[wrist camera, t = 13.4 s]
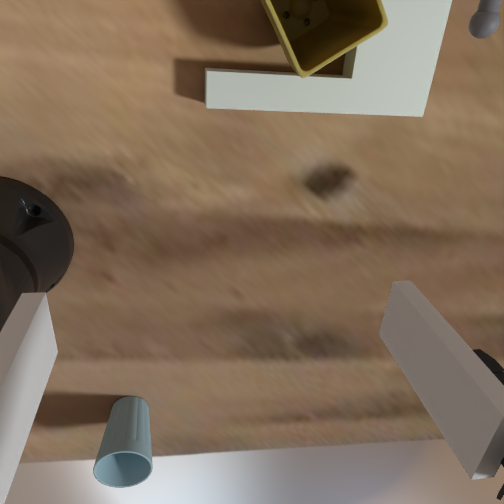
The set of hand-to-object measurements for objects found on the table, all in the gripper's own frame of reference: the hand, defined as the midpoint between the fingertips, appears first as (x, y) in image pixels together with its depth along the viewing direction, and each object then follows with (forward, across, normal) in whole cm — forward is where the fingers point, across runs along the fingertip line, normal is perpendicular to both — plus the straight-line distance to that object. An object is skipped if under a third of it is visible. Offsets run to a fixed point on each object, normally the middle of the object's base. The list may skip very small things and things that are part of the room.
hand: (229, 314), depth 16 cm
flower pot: (+35, +10, +12) cm, 38 cm away
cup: (+35, -10, -44) cm, 57 cm away
